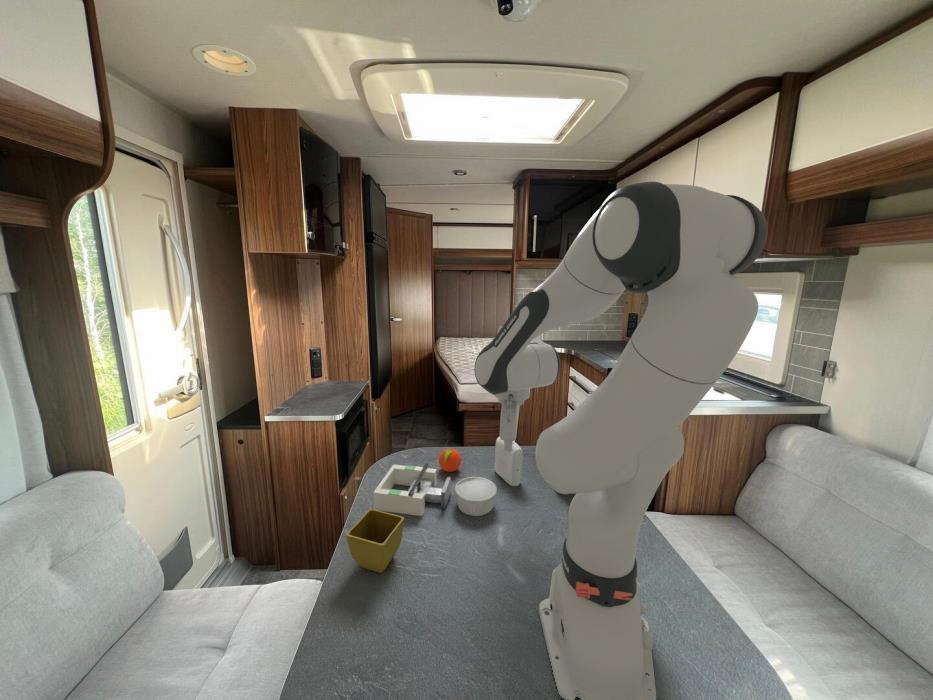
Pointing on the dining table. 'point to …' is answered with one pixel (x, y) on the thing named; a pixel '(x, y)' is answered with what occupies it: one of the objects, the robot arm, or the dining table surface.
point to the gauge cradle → (399, 499)
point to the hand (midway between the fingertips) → (509, 441)
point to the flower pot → (375, 539)
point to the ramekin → (475, 495)
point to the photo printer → (509, 462)
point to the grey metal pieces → (431, 489)
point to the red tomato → (450, 460)
